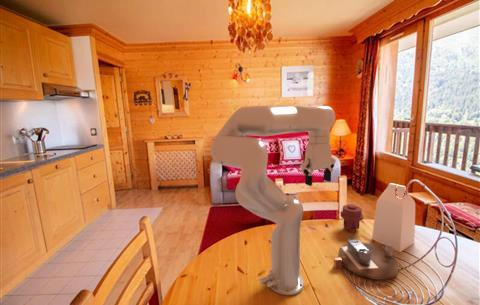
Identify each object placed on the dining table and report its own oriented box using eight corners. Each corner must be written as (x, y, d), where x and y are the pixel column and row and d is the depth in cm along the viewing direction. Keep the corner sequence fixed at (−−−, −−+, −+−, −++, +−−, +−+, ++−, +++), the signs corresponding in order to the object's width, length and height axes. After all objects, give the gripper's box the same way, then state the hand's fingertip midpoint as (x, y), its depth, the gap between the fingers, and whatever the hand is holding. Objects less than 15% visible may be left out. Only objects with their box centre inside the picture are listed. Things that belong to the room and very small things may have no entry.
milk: (371, 239, 110) (375, 183, 106) (386, 231, 116) (390, 179, 111) (400, 251, 100) (405, 191, 95) (414, 243, 106) (420, 185, 101)
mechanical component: (359, 225, 123) (365, 235, 113) (338, 224, 125) (342, 234, 115) (360, 202, 121) (366, 210, 111) (339, 201, 123) (343, 209, 113)
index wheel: (337, 271, 88) (338, 254, 87) (339, 242, 106) (340, 228, 105) (403, 285, 80) (404, 267, 79) (393, 252, 98) (394, 237, 97)
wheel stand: (350, 279, 85) (351, 270, 85) (332, 266, 92) (333, 258, 92) (379, 265, 92) (379, 257, 91) (360, 254, 99) (360, 246, 98)
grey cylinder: (361, 267, 86) (362, 255, 86) (345, 248, 98) (345, 237, 97) (372, 266, 87) (373, 254, 86) (354, 247, 98) (355, 237, 98)
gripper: (328, 137, 100) (327, 177, 103) (294, 141, 93) (294, 184, 96) (343, 138, 94) (341, 181, 97) (308, 143, 86) (307, 189, 89)
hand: (318, 182), depth 96 cm, fingers open, 9 cm apart
